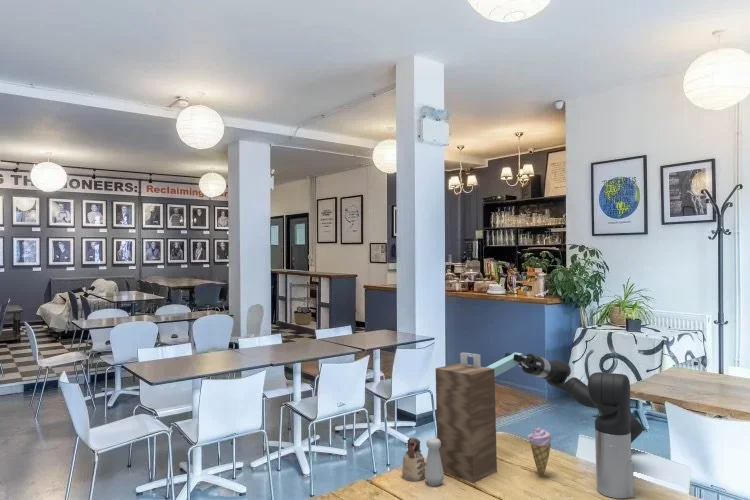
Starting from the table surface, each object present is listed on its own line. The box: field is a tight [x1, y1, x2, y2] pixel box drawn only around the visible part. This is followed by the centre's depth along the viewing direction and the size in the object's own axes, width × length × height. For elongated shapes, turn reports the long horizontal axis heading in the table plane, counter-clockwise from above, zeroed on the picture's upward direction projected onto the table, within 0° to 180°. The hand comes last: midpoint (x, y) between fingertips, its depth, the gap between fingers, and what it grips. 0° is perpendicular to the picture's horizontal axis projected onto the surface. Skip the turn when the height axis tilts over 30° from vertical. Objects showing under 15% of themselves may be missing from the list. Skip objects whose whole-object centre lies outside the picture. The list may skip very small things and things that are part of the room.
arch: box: [459, 351, 482, 369], centre depth 165 cm, size 7×2×4 cm, turn 42°
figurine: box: [401, 436, 426, 482], centre depth 158 cm, size 7×7×12 cm
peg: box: [485, 351, 524, 377], centre depth 177 cm, size 24×3×3 cm, turn 131°
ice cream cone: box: [527, 427, 552, 478], centre depth 157 cm, size 7×6×15 cm
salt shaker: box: [424, 437, 445, 487], centre depth 153 cm, size 6×6×13 cm
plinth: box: [435, 362, 498, 484], centre depth 162 cm, size 14×12×32 cm
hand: (510, 356), depth 182 cm, fingers closed on peg, 3 cm apart
